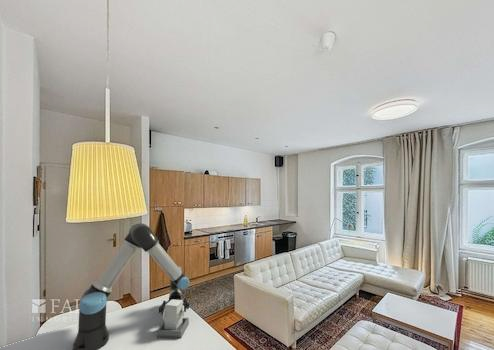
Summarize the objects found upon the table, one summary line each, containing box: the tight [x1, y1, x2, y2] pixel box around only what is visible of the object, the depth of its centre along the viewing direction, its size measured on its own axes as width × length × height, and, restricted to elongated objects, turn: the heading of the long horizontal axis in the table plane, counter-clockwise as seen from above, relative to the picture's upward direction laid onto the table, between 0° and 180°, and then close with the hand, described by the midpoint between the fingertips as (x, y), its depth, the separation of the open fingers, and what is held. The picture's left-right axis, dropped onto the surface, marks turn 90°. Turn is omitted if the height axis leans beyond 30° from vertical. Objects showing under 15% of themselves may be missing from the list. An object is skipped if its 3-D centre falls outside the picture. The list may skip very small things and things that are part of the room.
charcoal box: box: [156, 317, 190, 339], centre depth 125 cm, size 13×13×4 cm
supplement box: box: [164, 299, 184, 330], centre depth 125 cm, size 7×7×13 cm
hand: (173, 315), depth 121 cm, fingers closed on supplement box, 9 cm apart
